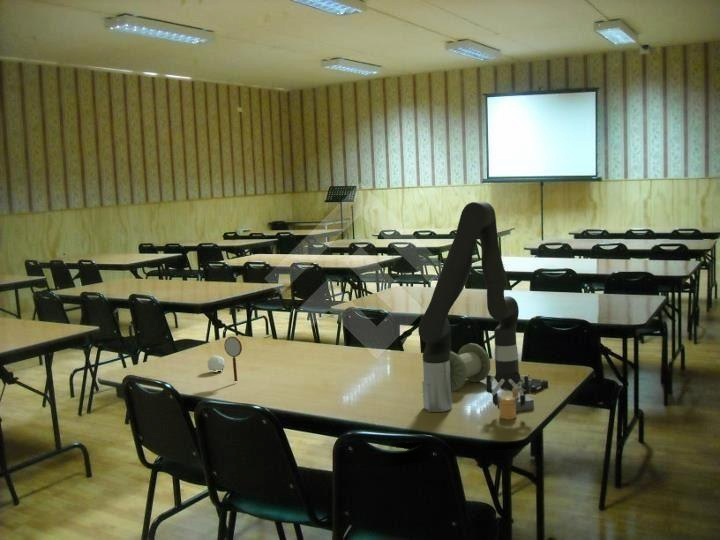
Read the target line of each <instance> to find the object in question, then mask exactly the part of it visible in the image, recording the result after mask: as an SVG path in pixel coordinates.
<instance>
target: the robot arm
mask: <svg viewBox="0 0 720 540" xmlns="http://www.w3.org/2000/svg"><path fill="white" fill-rule="evenodd" d="M478 238H479V242H480V249H481V270H482V275H483V277H484V278H483V279H484V282H485V286H486V306H487V307H486V308H487V312H488V313H489V315H490V317H491V319H493V320H495V321H498V322H499V324H497V326H496V327H495V328H494V331H493V332H494V334H493V335H494V364H495V374H492V373H490V372H489V374H488V375H487V377H486V378H485V379H486V382H485V383H486V384H485V385H486V392H487V393H488V394H489V393H490V394H491V396H492V403H493V405H494V406H498V405H499V404H498V396H499V395H498V394H499V393H498V391H499V390H500V389H501V388H500V387H503V388H502V389H505V388H515V389H516V390H517V391H518V394H520V405H521V407H523V406H524V405H525V403H526V399H525V395H526V396H527V395H529V394H530V393H531V387H530V379H529V378H530V375H529V374H525V375H521V374H520V370H519V369H520V367H519V364H520V363H519V351H518V345H517V333H516V332H517V327H518V321H519V315H520V314H519V310H520V309H519V304H518V302H517V300H516V299H515V298H514V297H513V296H511V295H510V296H505V290H506V289H507V288H508V285H509V282H508V278H507V277H508V276H507V274H506V269H505V266H504V262H503V258H502V255H501V251H500V249H501V248H500V244H499V242H500V241H499V235H498V228H497V218H496V212H495V208H494V207H493V205H492V204H490V203H489V202H486V201H472V202H468V203H467V204H466V205H465V206H464V207H463V209H462V210H461V214H460V216H459V220H458V225H457V227H456V231H455V235H454V238H453V240H452V244H451V245H450V248H449V250H448V253H447V255H446V259H445V260H444V263H443V265H442V268H441V270H440V274H439V277H438V279H437V281H436V285H435V287H434V290H433V293H432V296H431V299H430V302H429V304H428V306H427V308H426V310H425V312H424V314H423V316H422V318H421V319H420V322H419V324H418V329H417V330H418V331H417V332H418V336H419V337H420V340H421V341H423V343H425V346H424V350H423V353H422V366H423V381H422V383H421V384H422V399H423V401H422V402H423V409H425V411H427V412H428V413H442V412H447V411H450V410H452V408H453V404H452V403H453V401H452V391H451V378H450V358H449V355H450V351H452V339H451V338H452V333H451V332H452V329H451V324H450V320H449V319H448V317H449V316H448V315H449V313H450V311H451V309H452V307H453V305H454V303H455V302H456V301H457V299H458V298H459V296H460V295H461V293H462V292H463V290H464V288H465V287H466V284H467V282H468V278H469V276H470V274H471V271H472V268H473V255H474V253H473V252H474V247H475V244H476V242H477V239H478ZM520 379H522V381H523V382H525V389H526V390H524V389H523V388H522V386H521V385H520V383H519V380H520ZM494 380H495V381H496V382H497V385H496V386H495V387H494V388H492V387H493V384H492V383H493V381H494Z"/></svg>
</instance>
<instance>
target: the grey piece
mask: <svg viewBox="0 0 720 540" xmlns="http://www.w3.org/2000/svg"><path fill="white" fill-rule="evenodd" d="M511 393H512V394H507V395H498V405H499V403H500V398H502V397H513V398H515V403H516V412H518V411H519V412H520V411H526V410H533V409H535V405H534V403H535V402H534V399H533V398H530V397H529V396H528V395H527V394H526V395H525V399H526V403H525V405H524V406H523V407H521V405H520V393H519V392H518V391H517V390H516V389H515V388H512V392H511Z"/></svg>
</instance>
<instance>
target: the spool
mask: <svg viewBox="0 0 720 540" xmlns="http://www.w3.org/2000/svg"><path fill="white" fill-rule="evenodd" d="M449 358H450V378H451V392H455V391H457V390H460V389H461V388H462V387H463V386H465V384H466V381H468V382H473V383H479V382H481V381H484V380H485V379H486V377H487V375H488V374H489V373H490V372H491V360H490V357H489V353H487V351H486V350H485V349H484V347H483V346H481V345H479V344H477V343H472V342H470V343H467V344H464V345H462V346H461V347H460V349H459V350H458V353H456V352H454V351H452V350H451V351H450V355H449Z"/></svg>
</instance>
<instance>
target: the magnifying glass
mask: <svg viewBox="0 0 720 540" xmlns="http://www.w3.org/2000/svg"><path fill="white" fill-rule="evenodd" d="M242 350H243V346H242V342H241V340H239V338H237V337H236V336H228V337H227V338H226V339H225V341H224V351H225V352H226V353H227V355H228V356H230V357H232V368H233V378H234V379H233V380H234V382H235V381H237V382H238V373H237V361H236V360H237V359H236V357H238V356H240V355H241V353H242Z"/></svg>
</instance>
